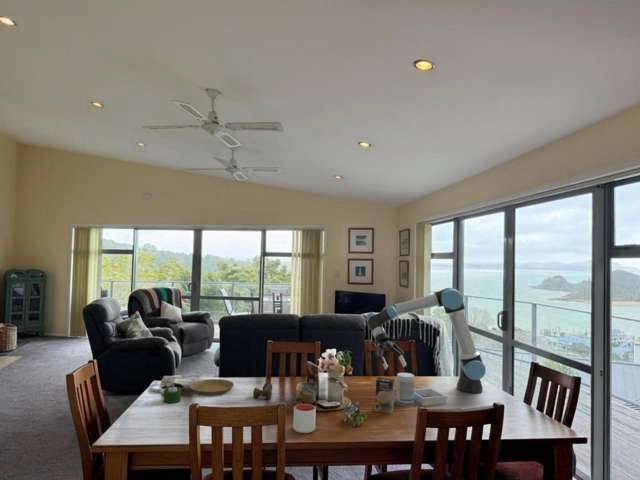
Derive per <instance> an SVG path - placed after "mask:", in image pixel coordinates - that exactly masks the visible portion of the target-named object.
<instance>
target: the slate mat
mask: <svg viewBox="0 0 640 480" xmlns="http://www.w3.org/2000/svg"><path fill="white" fill-rule="evenodd" d="M395 403H396V404H397V405H398V406H400V407H412V406H421V404H419V403H418V402H416V401H414V402H413V403H411V404H403V403H400V402H398V401H397V397H396V398H395V397H394V404H395Z"/></svg>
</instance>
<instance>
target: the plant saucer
mask: <svg viewBox="0 0 640 480" xmlns="http://www.w3.org/2000/svg"><path fill="white" fill-rule="evenodd" d="M234 385H235V384H234V382H232V381H230V380H228V379H221V378H220V379H219V378H212V379H203V380H199V381H195V382H193V383H192V384H191V385H190V388H191V390H192V391H193V393H195V394H197V395H199V396H200V395H201V396H208V397H211V396H219V395H224V394H226V393H228V392H230V391H231V390H232V389H233V387H234Z"/></svg>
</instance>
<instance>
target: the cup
mask: <svg viewBox="0 0 640 480" xmlns="http://www.w3.org/2000/svg"><path fill="white" fill-rule="evenodd" d="M316 410H317V407H316V406H315V405H313V404H309V403H300V404H295V406H294V407H293V423H292V425H293V426H292V428H293V430H294V431H295V432H297V433H299V434H310V433H312V432H314V431H315V429H316V419H317V418H316V415H317V414H316V413H317V411H316Z"/></svg>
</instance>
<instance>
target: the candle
mask: <svg viewBox="0 0 640 480" xmlns="http://www.w3.org/2000/svg"><path fill="white" fill-rule="evenodd" d="M163 392H164V394H163V403H164V404H168V405H174V404H178V403H180V402H181V399H182V398H181V395H182V390H181V389H180V388H178V387H176V386H175V382H174V381H172V383H171V387H169V388H167V389H165V390H164V391H163Z"/></svg>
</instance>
